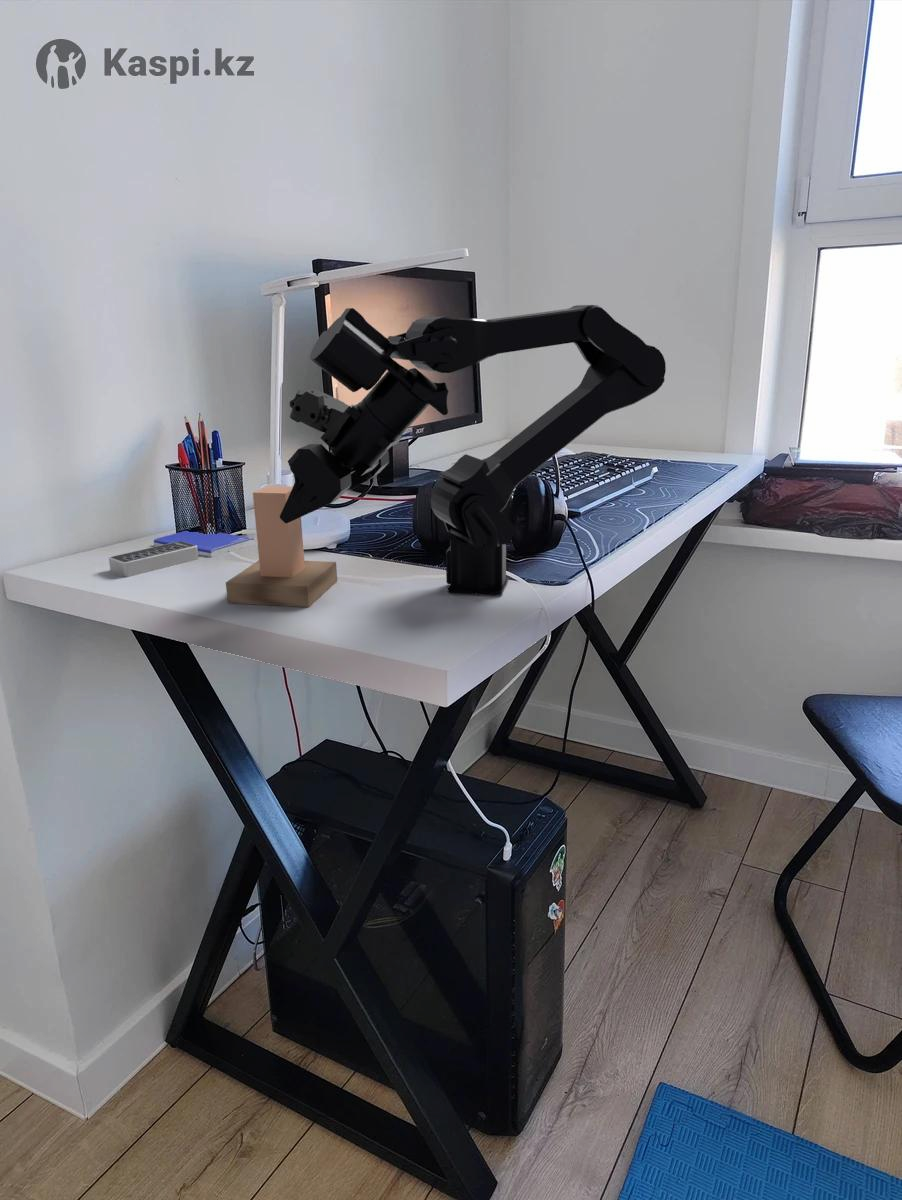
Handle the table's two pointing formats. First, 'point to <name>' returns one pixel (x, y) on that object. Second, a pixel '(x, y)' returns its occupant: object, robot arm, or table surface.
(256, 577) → the plinth
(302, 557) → the block
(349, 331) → the robot arm
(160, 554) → the multiport hub
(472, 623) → the table surface
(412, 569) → the table surface
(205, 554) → the hard drive
